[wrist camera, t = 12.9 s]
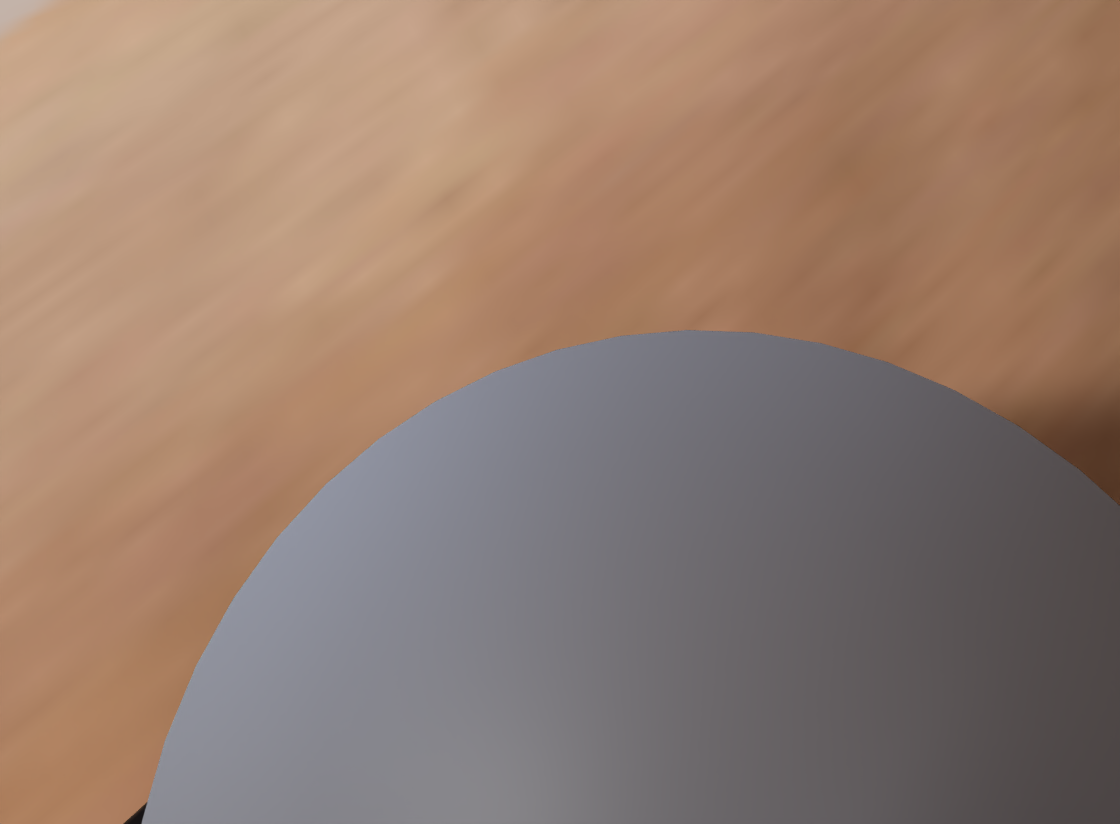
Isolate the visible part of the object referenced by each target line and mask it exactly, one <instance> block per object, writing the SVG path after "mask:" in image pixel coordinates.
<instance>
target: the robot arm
mask: <svg viewBox="0 0 1120 824" xmlns="http://www.w3.org/2000/svg"><path fill="white" fill-rule="evenodd" d="M146 806H147V803H146V804H145V805H143V806H142V807H141V808H140V809H139V810H138V811H137V812H136V813H135V814H134V815H133V816H131V817H130V818H129V819H128V820H127V821H126V822H125V823H124V824H142V820H143V816H144V813H145V809H146Z"/></svg>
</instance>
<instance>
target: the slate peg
mask: <svg viewBox="0 0 1120 824" xmlns="http://www.w3.org/2000/svg"><path fill="white" fill-rule="evenodd" d="M142 824H1120V506H1119V505H1118V504H1117V503H1116V502H1115V501H1114V500H1113V499H1112V498H1110V497H1109V496H1108V495H1107V494H1106V493H1105V492H1104V491H1103V490H1102V489H1100V488H1099V487H1098V486H1097V485H1096V484H1095V483H1094V482H1093V481H1092V480H1090V479H1089V478H1088V477H1087V476H1086V475H1085V474H1084V473H1083V472H1082V471H1080V470H1079V469H1078V468H1076V467H1075V466H1073V465H1072V464H1071V463H1069V462H1068V461H1066V460H1065V459H1064V458H1062V457H1061V456H1059V455H1058V454H1057V453H1055V452H1054V451H1052V450H1051V449H1050V448H1048V447H1047V446H1046V445H1044V444H1043V443H1041V442H1040V441H1039V440H1037V439H1036V438H1034V437H1033V436H1032V435H1030V434H1029V433H1027V432H1026V431H1025V430H1023V429H1022V428H1020V427H1019V426H1017V425H1016V424H1014V423H1012V422H1010V421H1008V420H1007V419H1005V418H1003V417H1001V416H1000V415H998V414H996V413H994V412H992V411H991V410H989V409H987V408H985V407H983V406H982V405H980V404H978V403H976V402H975V401H973V400H971V399H969V398H967V397H966V396H964V395H962V394H960V393H958V392H957V391H955V390H953V389H950V388H948V387H946V386H943V385H941V384H938V383H936V382H934V381H931V380H929V379H926V378H924V377H922V376H919V375H917V374H914V373H912V372H910V371H907V370H905V369H902V368H900V367H898V366H895V365H893V364H890V363H888V362H885V361H881V360H878V359H874V358H871V357H867V356H864V355H860V354H857V353H853V352H850V351H846V350H843V349H839V348H836V347H832V346H829V345H825V344H822V343H816V342H810V341H803V340H797V339H791V338H784V337H778V336H772V335H766V334H759V333H750V332H723V331H695V330H684V331H672V332H661V333H650V334H638V335H627V336H619V337H614V338H610V339H605V340H601V341H596V342H591V343H587V344H582V345H577V346H573V347H568V348H563V349H559V350H555V351H552V352H550V353H547V354H544V355H541V356H538V357H535V358H533V359H530V360H527V361H524V362H521V363H518V364H515V365H513V366H510V367H507V368H504V369H501V370H498V371H496V372H493V373H491V374H489V375H487V376H485V377H483V378H481V379H479V380H477V381H475V382H473V383H471V384H469V385H467V386H465V387H463V388H461V389H459V390H457V391H455V392H453V393H451V394H449V395H447V396H445V397H443V398H441V399H439V400H437V401H435V402H434V403H432V404H431V405H429V406H428V407H426V408H425V409H423V410H422V411H420V412H419V413H417V414H416V415H414V416H413V417H411V418H410V419H408V420H407V421H405V422H404V423H402V424H401V425H399V426H398V427H396V428H395V429H393V430H392V431H390V432H389V433H387V434H386V435H384V436H383V437H381V438H380V439H378V440H377V441H376V442H375V443H374V444H372V445H371V446H370V447H369V448H368V449H367V450H365V451H364V452H363V453H362V454H361V455H360V456H358V457H357V458H356V459H355V460H354V461H353V462H351V463H350V464H349V465H348V466H347V467H346V468H344V469H343V470H342V471H341V472H340V473H339V474H337V475H336V476H335V477H334V478H333V479H332V480H330V481H329V482H328V483H327V484H326V485H325V486H324V487H323V488H322V489H321V490H320V491H319V492H318V494H317V495H316V496H315V497H314V498H313V499H312V500H311V501H310V502H309V503H308V504H307V506H306V507H305V508H304V509H303V510H302V511H301V512H300V513H299V514H298V515H297V517H296V518H295V519H294V520H293V521H292V522H291V523H290V524H289V525H288V526H287V527H286V529H285V530H284V531H283V532H282V533H281V534H280V535H279V536H278V537H277V539H276V540H275V541H274V543H273V544H272V546H271V547H270V548H269V550H268V551H267V552H266V554H265V555H264V557H263V558H262V559H261V561H260V562H259V564H258V565H257V566H256V568H255V569H254V571H253V572H252V573H251V575H250V576H249V578H248V579H247V580H246V582H245V583H244V585H243V586H242V587H241V589H240V590H239V592H238V593H237V594H236V596H235V597H234V599H233V600H232V602H231V604H230V606H229V608H228V609H227V611H226V613H225V615H224V617H223V618H222V620H221V622H220V624H219V626H218V627H217V629H216V631H215V633H214V635H213V636H212V638H211V640H210V642H209V644H208V645H207V647H206V649H205V651H204V653H203V654H202V656H201V658H200V660H199V662H198V663H197V665H196V667H195V670H194V672H193V675H192V677H191V680H190V682H189V684H188V687H187V689H186V692H185V694H184V696H183V699H182V701H181V704H180V706H179V709H178V711H177V713H176V716H175V718H174V721H173V723H172V725H171V728H170V730H169V733H168V735H167V738H166V740H165V743H164V747H163V750H162V754H161V757H160V761H159V764H158V768H157V771H156V774H155V778H154V781H153V785H152V788H151V792H150V795H149V799H148V802H147V806H146V809H145V813H144V816H143V820H142Z"/></svg>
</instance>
